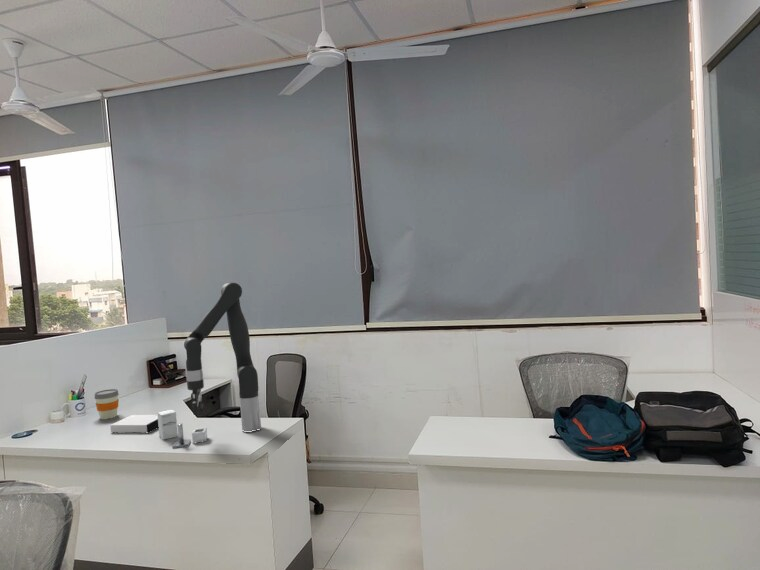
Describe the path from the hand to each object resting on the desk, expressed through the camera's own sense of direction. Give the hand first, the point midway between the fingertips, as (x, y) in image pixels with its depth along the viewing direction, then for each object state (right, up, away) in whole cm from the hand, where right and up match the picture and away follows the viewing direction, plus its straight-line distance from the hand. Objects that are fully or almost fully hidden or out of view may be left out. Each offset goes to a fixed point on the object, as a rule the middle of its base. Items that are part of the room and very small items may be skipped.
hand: (197, 412), depth 253 cm
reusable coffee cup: (-71, -16, +55) cm, 92 cm away
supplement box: (-18, -15, +10) cm, 26 cm away
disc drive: (-41, -16, +29) cm, 53 cm away
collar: (+1, -14, +1) cm, 14 cm away
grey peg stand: (-6, -15, -4) cm, 16 cm away
